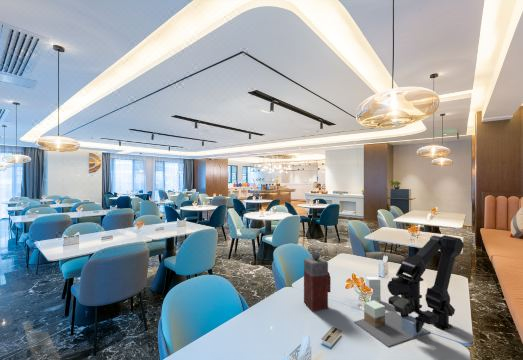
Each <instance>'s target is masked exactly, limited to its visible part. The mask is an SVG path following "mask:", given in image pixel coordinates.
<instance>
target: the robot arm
mask: <svg viewBox="0 0 523 360" xmlns="http://www.w3.org/2000/svg"><path fill="white" fill-rule="evenodd" d="M464 246H465V244H464V242H463V240H462V239H461V238H460V237H454V236H450V235H447V234H446V235H445V234H444V235H442V236H439V235H431V236H430V237H429V240H428V241H427V242H426V243H425V244H424V245H422V247H421V248H420V249H419V250H418V251H417V253H416V254H414V255H412V256H411V255H410V256H409V257H406V258H405V259H404V260H403V261H402V262H401V263H400V266H399V268H398V270H397V271H396V273H395V276H396V277H391V280H389V281H388V283H387V290H388V292H389V293H390V294H391V295H392V296H389V297H388V305H391V306H393V308H394V310H395V311H396V313H397V312H398V314H399V315H401V317H402V318H403V317H406V316H410V315H411V314H412V313H414V314H417V316H416V317H414V319H415V320H416V332H417V333H419V332H420V330H421V328H422V327H423V326H424V325H425V324H427V325H433V326H434V327H438V328H439V329H441V330H443V331H445V330H448V329H449V328H453V327H454V326H453V324H451V323H450V321H449V320H450V318H449V317H453V315H455V311H456V309H455V308H454V306H453V305H452V304H451V296H450V294H449V290H448V289H449V286H450V285H449V284H450V281H451V275H452V272H453V267H454V264H455V260H456V258H457V257H458V256H459V255H461V253H462V251H463V248H464ZM439 251H440V258H439V263H438V267H437V270H436V275H435V280H434V283H433V286H432V287H428V288H427V289H426V294H425V295H424V296H425V302H426V305H427V307H428V308H430V309H432V311H431V310H425V311H424V310H421V308H423V305H422V304H421V299H422V298H423V296H422V294H421V289H420V288H421V286H420V284H421V283H420V282H424V278H423V277H422V276H423V274H424V272H425V271H426V269H427V268H426V267H427V266H426V265H427V264H428V262H430V260H432V258H434V256H435V255H436V254H437V253H438V252H439ZM395 311H394V312H395ZM423 328H424V327H423Z"/></svg>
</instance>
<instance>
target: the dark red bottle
mask: <svg viewBox="0 0 523 360" xmlns="http://www.w3.org/2000/svg"><path fill="white" fill-rule="evenodd" d="M311 256H312V257H305V258H303V304H304V303H305V304H306V305H305V304H304V305H305V306H306V307H307V308H308V309H309V310H310V311H311V312H317V311H323V310H328V309H329V293H331V288H332V287H331V283H332V281H331V279H332V278H331V274H330V272H329V262H328V261H327V260H325V259H323V258H321V256H320V251H319V250H318V249H317V250H315V249H314V250H312V252H311Z"/></svg>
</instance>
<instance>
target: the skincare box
mask: <svg viewBox="0 0 523 360" xmlns="http://www.w3.org/2000/svg"><path fill="white" fill-rule="evenodd" d="M366 286H368V287H370V288H372V289H373V294H372V296H371V301H373V300H375V301H377V302H378V303H381V279H380V278H379V277H378V276H365V287H366Z"/></svg>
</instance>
